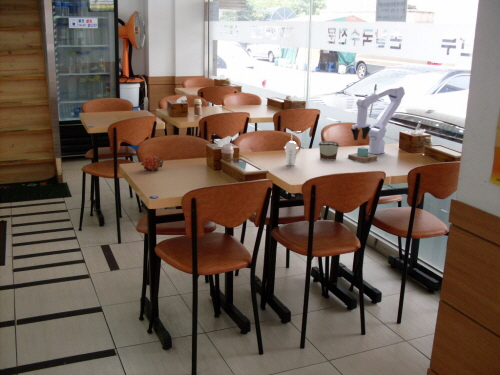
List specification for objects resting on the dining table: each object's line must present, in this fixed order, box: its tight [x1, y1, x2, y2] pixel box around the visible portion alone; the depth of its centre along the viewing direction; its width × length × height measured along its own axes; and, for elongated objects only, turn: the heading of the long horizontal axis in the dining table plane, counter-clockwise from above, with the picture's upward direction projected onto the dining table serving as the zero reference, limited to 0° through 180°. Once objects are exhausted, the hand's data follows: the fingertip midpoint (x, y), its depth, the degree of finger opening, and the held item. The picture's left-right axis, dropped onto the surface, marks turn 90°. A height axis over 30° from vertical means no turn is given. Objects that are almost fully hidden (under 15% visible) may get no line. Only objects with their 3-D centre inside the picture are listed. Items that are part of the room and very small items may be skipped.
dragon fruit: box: [140, 155, 164, 172], centre depth 288 cm, size 8×8×12 cm
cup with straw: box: [283, 130, 302, 166], centre depth 303 cm, size 8×9×20 cm
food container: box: [318, 140, 340, 161], centre depth 323 cm, size 12×6×10 cm, turn 84°
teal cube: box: [357, 146, 369, 157], centre depth 322 cm, size 4×4×4 cm
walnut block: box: [347, 153, 378, 164], centre depth 323 cm, size 12×12×3 cm
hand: (359, 139), depth 333 cm, fingers open, 7 cm apart
